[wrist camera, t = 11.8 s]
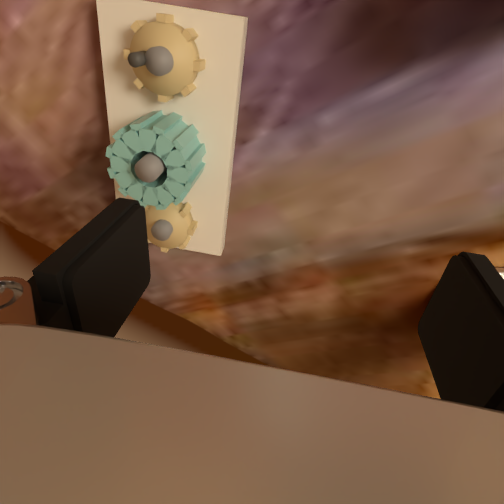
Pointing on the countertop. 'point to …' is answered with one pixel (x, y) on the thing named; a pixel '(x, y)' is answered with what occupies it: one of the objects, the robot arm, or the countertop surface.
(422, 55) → the countertop surface
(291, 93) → the countertop surface
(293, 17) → the countertop surface
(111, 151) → the loose gear
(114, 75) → the gear board
